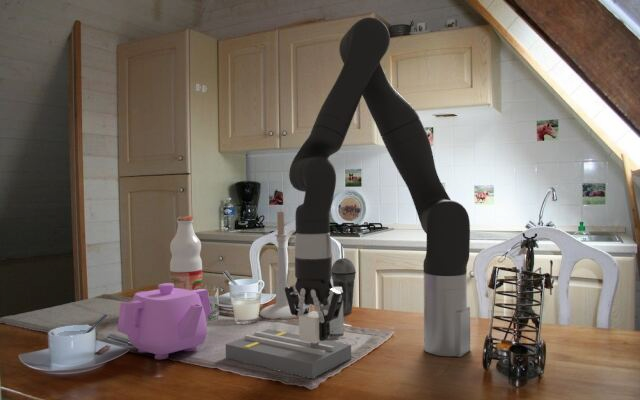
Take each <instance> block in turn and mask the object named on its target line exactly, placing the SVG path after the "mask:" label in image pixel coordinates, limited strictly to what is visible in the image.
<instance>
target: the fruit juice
mask: <svg viewBox="0 0 640 400" xmlns="http://www.w3.org/2000/svg"><path fill="white" fill-rule="evenodd" d="M176 223H177V229H176V232H175V236H173V238H172V240H171V241H170V244H169V246H170V247H169V250H170V254H171V259H170V262H169V279H170V282H169V283H172V284H174V288H180V289H186V290H190V291H192V290H194V288H195V287H196V286H203V261H202V257H201V250H202V242H201V240H200V239H199V237H198V236H197V235H196V233H195V230H194V226H193V224H194V216H190V215H189V216H187V215H185V216H177V217H176Z"/></svg>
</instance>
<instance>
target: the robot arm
mask: <svg viewBox="0 0 640 400" xmlns="http://www.w3.org/2000/svg"><path fill="white" fill-rule="evenodd" d="M390 43H391V36H390V32H389V29H388V27H387V26H386V24H385V23H384V22H383V21H381V20H380V19H378V18H376V17H363V18H362V19H359V20H358V21H356V22H355V23H354V24H353V25H352V26H351V27H350V28H349V29H348V30H347V32H345V33H344V35H343V36H342V38H341V40H340V43H339V50H338V51H339V56H340V59H341V61H342V63H343V65H342V68H341V71H340V73H339V75H338V77H337V79H336V81H335V82H334V85H333V86H332V88H331V89H330V91H329V93H328V94H327V97H326V98H325V100H324V101H323V104H322V106H321V107H320V109H319V112H318V114H317V117H316V119H315V120H314V123H313V126H312V128H311V131H310V134H309V136H308V137H307V139H306V140H304V142H303V144H302V146H301V147H300V148H299V150H298V152H296V155H295V156H294V158H293V160H292V162H291V164H290V167H289V171H288V172H289V173H288V177H289V183H290V185H291V186H292V188H294V189H295V190H297V191H299V192H303V193H304V198H303V202H302V204H300V205H298V206H297V207H296V210H295V215H294V216H295V217H294V218H295V239H294V276H295V279H296V282H295V283H294V284H293V285H289V286H288V285H287V287H286V288H285V293H286V297H287V301H288V304H289V308H290V312H291V314H292V315H296V316H297V319H298V320H299V316H301V315H303V314H306V313H309V312H311V308H312V306H314V309H315V310H314V311H316V312H318V316H319V321H320V323H319V340H320V341H324V340H329V338H330V336H331V335H330V321H331V320H334V319H336V318H338V316H339V312H340V308H341V305H342V301H343V298H344V292H343V291H340V292H338V291H336V290H334V289H333V284H332V282H331V279H332V266H333V263H332V261H333V260H332V239H331V238H332V237H331V228H330V227H331V223H330V222H331V221H330V220H331V219H330V218H331V216H330V212H331V207H332V204H333V200H334V194H335V190H336V187H337V174H336V169H335V167H334V164H333V163H332V161H331V160H329V157H330V156H332V155H334V154H336V153H338V152H339V150H340V149H341V148H342V146H343V144H344V142H345V139H346V136H347V134H348V132H349V129H350V126H351V124H352V121H353V119H354V115H355V113H356V111H357V108H358V106H359V103H360V101H361V99H362V98H363V100H364V101H365V104H366V106H367V109H368V111H369V113H370V115H371V117H372V119H373V121H374V124H375V125H376V128H377V131H378V132H379V135H380V137H381V139H382V141H383V142H382V143H384V146H385V148H386V150H387V152H388V154H389V156H390V158H391V160H392V162H393V164H394V165H395V167H396V169H397V171H398V173H399V174H400V177H401V178H402V180H403V182H404V184H405V185H406V187H407V188H408V191H409V193H410V196H411V199H412V203H413V206H414V208H415V210H416V213H417V217H418V219H419V220H418V221H419V222H420V225H421V228H422V230H423V231H424V233H425V234H426V247H425V248H426V251H425V257H424V260H423V266H422V267H423V344H424V345H423V347H424V348H423V349H424V351H425V352H427V353H428V354H431V355H435V356H440V357H459V358H461V357H463V356H464V355H465V354H467V353H468V352H469V351H471V308H470V307H469V306H467V305H468V303H467V302H468V301H467V299H468V298H467V297H468V296H467V295H468V293H467V290H468V289H467V288H468V283H467V280H468V279H467V271H468V270H467V268H468V267H467V266H468V263H469V260H470V247H471V245H470V244H471V242H470V241H471V237H470V236H471V222H470V216H469V213H468V211H467V209H466V208H465V207H464V205H462V204H461V203H460V202H457V201H456V200H452V199H451V198H450V196H449V194H448V193H447V191H446V189H445V187H444V185H443V183H442V182H441V179H440V177H439V174H438V173H437V172H438V171H437V169H436V165H435V159H434V154H433V150H432V144H431V141H430V139H429V136H428V134H427V131H426V129H425V127H424V125H423V123H422V120H421V118H420V116H419V114H418V112H417V111H416V110H415V108H414V107H413V105H412V104H410V102H409V101H407V100H406V99H405V98H404V97H403V96H402V95H401V94H400V93H399V92H398V91H397V90H396V89H395V88H394V86H393V85H392V84H391V83H390V81H389V78H388V77H387V75H386V72H385V70H384V68H383V65H382V63H381V61H382V59H383V57H384V56H385V55H386V54H387V52H388V50H389V47H390ZM329 295H330V300H331V303H330V305H329V300H328V297H329ZM321 304H323V306H321ZM295 307H296V308H295ZM328 337H329V338H328Z"/></svg>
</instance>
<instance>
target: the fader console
mask: <svg viewBox="0 0 640 400" xmlns="http://www.w3.org/2000/svg"><path fill="white" fill-rule="evenodd" d="M228 358H229V360H232V359H233V360H232V361H236V360H238V361H237V362H240V361H241V362H240V363H244V362H246V363H245V364H248V363H250V364H249V365H252V364H253V366H256V365H258V366H257V367H260V366H263V367H262V368H264V367H267V368H266V369H268V368H271V369H270V370H272V369H276V370H275V371H277V370H280V371H279V372H281V371H284V372H283V373H285V372H288V373H287V374H289V373H292V374H291V375H293V374H296V375H295V376H297V375H300V376H299V377H301V376H304V377H303V378H305V377H309V378H314V377H316V376H318V375H320V374H322V373H324V372H326V371H327V372H329V371H331V370H333V369H335V368H336V367H335V366H337V365H339V364H341V363H343V362H345V361H346V362H348V361H350V360H352V344H349V343H343V342H337V341H334V340H329V339H327V340H324V341H320V342H319V348H318V349H315V348H311V343H310V342H305V341H300V340H299V334H295V333H291V332H285V331H281V330H274V329H270V328H268V329H264V330H262V331H255V332H254V333H253V334H246V335H244V337H242V338H239V339H236V340H233V341H231V342H228V343H226V344H225V359H228ZM349 359H350V360H349ZM347 360H348V361H347ZM346 362H345V363H346ZM343 364H344V363H343ZM341 365H342V364H341ZM339 366H340V365H339ZM334 367H335V368H334ZM337 367H338V366H337ZM332 368H333V369H332ZM330 369H331V370H330ZM328 370H329V371H328ZM327 372H326V373H327ZM324 374H325V373H324ZM322 375H323V374H322ZM320 376H321V375H320ZM318 377H319V376H318ZM309 378H308V379H309ZM316 378H317V377H316ZM314 379H315V378H314Z"/></svg>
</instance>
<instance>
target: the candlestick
mask: <svg viewBox="0 0 640 400" xmlns="http://www.w3.org/2000/svg"><path fill="white" fill-rule="evenodd" d="M276 213H277V214H276V215H277V217H276V219H277V220H276V221H277V222H276V223H277V227H276V229H277V234H274V236H275V237H276V241H277V243H278V246H277V259H276V260H277V263H276V290H275V291H276V296H275V303H274V304H271V305H268V306H266V307H264V308H263V309H261V310H260V312H259V316H260V315H261V316H263V317H262V318H264V317H267V318H266V319H268V318H284V319H283V320H290V319H298V317H297V316H296V315H292V314H291V312H290V308H289V304H288V301H287V297H286V293H285V288H286V287H288V277H287V275H288V274H287V263H286V250H285V249H286V246H285V242H286V240H287V239H286V237H287V236H288V234H287V233H286V234H285V211H283V210H282V211H281V209H280V210H279V211H277V212H276ZM295 308H296V307H295ZM261 316H260V317H261ZM285 318H286V319H285Z"/></svg>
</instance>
